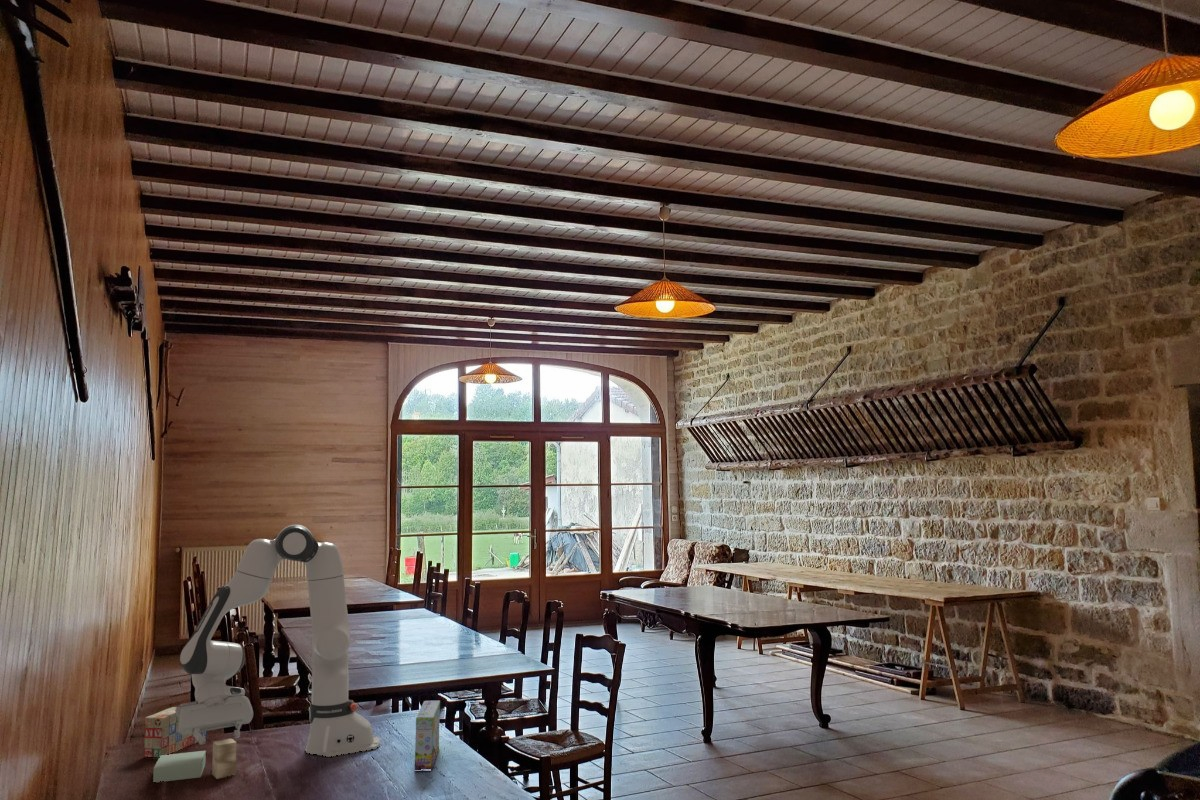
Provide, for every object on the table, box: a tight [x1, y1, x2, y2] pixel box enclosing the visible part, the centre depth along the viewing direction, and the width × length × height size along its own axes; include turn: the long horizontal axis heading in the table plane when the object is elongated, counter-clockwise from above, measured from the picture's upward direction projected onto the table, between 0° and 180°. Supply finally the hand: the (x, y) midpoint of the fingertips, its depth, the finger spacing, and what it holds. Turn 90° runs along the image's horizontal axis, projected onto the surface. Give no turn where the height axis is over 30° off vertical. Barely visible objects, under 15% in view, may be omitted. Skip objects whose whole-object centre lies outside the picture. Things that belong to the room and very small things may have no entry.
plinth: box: [152, 750, 207, 783], centre depth 240 cm, size 12×12×4 cm
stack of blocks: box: [143, 706, 208, 757], centre depth 265 cm, size 21×6×12 cm, turn 169°
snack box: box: [414, 700, 441, 770], centre depth 248 cm, size 21×6×15 cm, turn 6°
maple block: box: [211, 738, 238, 780], centre depth 238 cm, size 5×5×9 cm
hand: (220, 740), depth 242 cm, fingers open, 8 cm apart
